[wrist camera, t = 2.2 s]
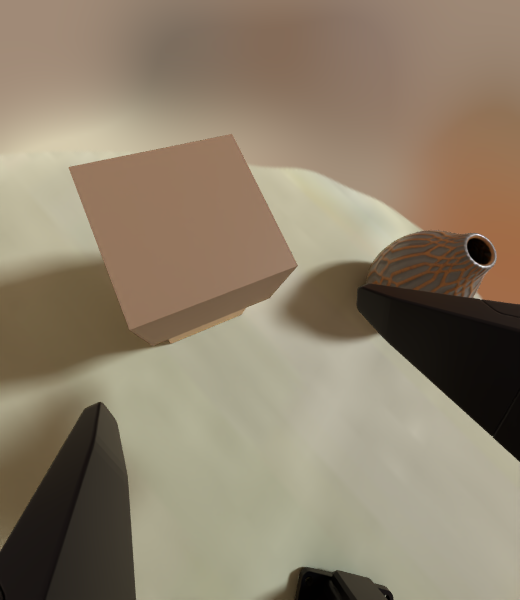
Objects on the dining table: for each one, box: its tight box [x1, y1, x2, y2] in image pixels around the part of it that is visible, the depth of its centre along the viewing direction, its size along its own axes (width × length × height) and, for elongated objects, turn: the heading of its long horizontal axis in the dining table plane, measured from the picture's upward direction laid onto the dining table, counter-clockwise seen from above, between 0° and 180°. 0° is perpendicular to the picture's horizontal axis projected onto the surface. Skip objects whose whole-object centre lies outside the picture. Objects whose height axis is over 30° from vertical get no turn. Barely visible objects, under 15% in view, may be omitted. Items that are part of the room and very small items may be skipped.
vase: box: [367, 230, 496, 298], centre depth 21 cm, size 7×7×9 cm
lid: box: [69, 134, 298, 346], centre depth 13 cm, size 7×7×5 cm
